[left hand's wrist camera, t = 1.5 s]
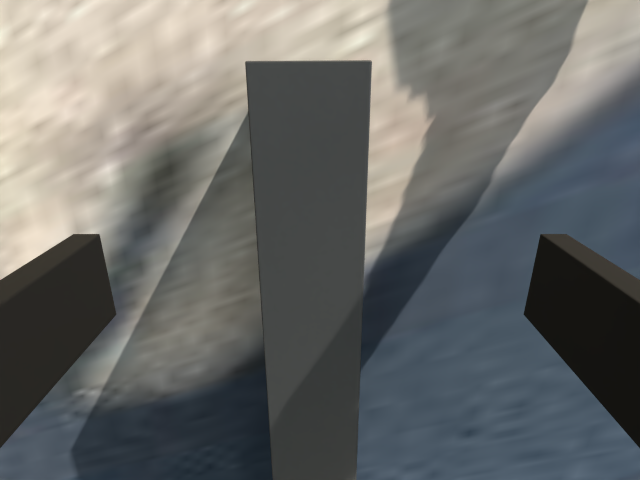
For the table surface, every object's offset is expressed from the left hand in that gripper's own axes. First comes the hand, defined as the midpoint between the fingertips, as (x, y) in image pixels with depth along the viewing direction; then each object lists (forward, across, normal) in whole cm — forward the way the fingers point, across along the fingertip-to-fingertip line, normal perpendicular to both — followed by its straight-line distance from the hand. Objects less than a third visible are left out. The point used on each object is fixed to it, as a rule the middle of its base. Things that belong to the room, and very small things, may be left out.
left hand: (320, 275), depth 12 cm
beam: (+14, 0, -23) cm, 27 cm away
